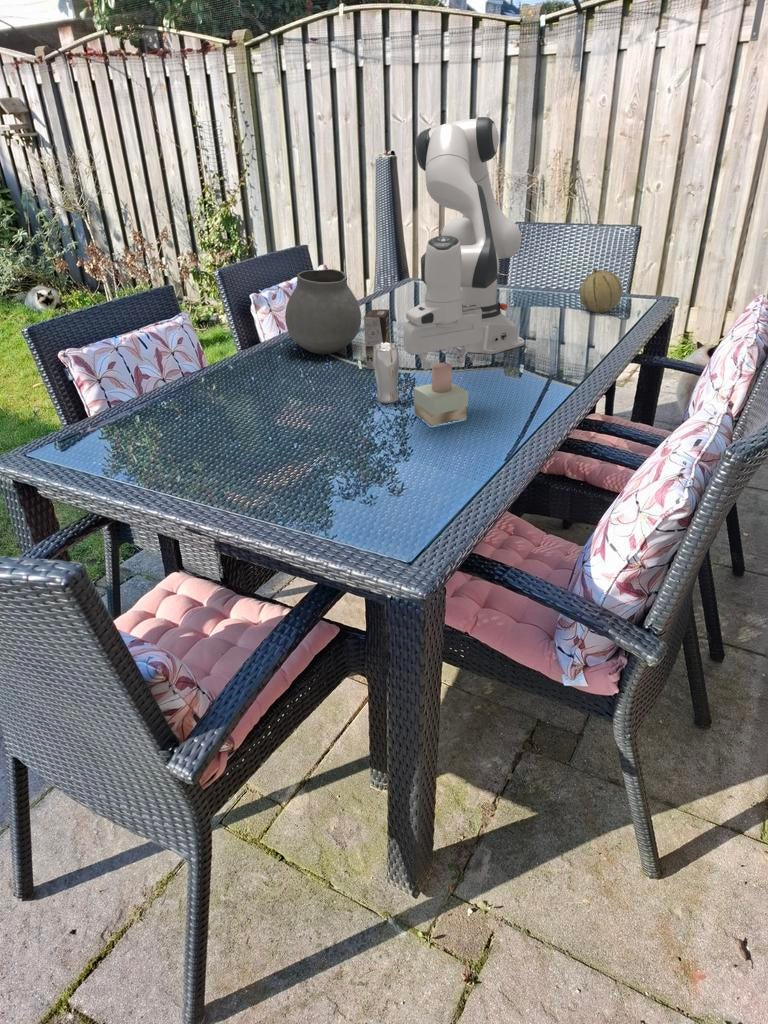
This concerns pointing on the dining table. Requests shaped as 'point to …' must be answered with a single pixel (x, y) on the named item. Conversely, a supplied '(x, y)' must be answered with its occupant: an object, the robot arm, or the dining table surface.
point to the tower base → (440, 415)
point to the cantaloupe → (601, 291)
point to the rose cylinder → (441, 377)
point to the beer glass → (386, 371)
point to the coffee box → (375, 332)
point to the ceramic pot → (322, 311)
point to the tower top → (440, 399)
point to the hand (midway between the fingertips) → (443, 365)
